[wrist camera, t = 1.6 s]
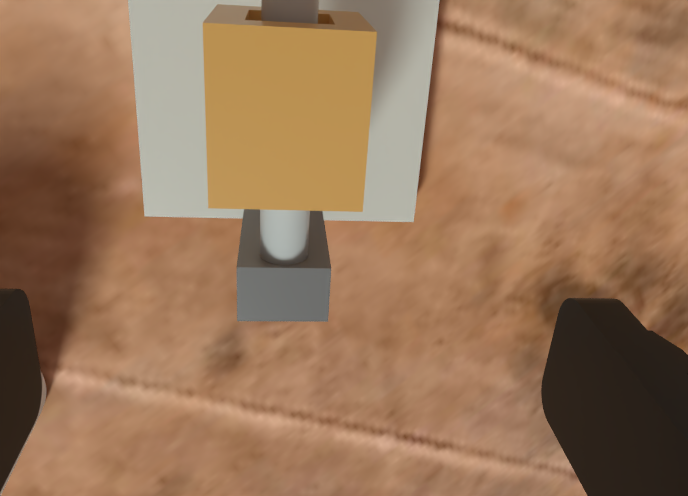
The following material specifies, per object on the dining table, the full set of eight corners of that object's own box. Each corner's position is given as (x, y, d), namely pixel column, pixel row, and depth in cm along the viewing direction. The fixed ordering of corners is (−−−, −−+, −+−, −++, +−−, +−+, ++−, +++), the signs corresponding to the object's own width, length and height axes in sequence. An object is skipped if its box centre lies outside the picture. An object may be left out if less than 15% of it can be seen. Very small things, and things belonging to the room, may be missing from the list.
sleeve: (220, 159, 22) (207, 208, 18) (217, 4, 20) (202, 22, 16) (348, 163, 23) (362, 212, 19) (358, 12, 21) (377, 31, 17)
